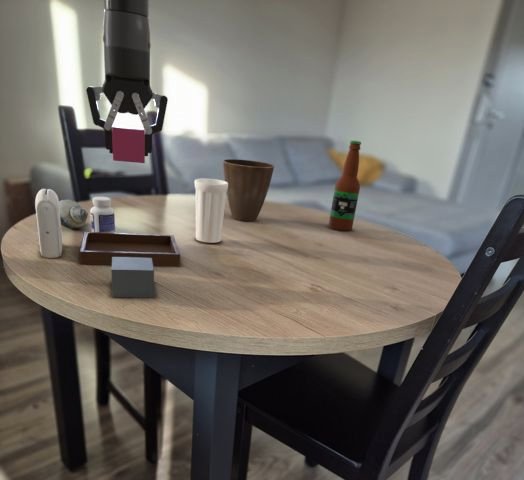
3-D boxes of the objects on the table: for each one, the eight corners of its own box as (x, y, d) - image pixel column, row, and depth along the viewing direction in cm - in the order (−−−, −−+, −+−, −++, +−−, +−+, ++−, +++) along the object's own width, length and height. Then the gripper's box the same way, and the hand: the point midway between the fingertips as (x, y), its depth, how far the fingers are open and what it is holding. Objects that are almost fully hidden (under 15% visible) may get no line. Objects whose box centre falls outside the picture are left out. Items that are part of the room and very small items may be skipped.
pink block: (113, 160, 86) (112, 127, 83) (114, 156, 91) (113, 124, 88) (144, 163, 87) (144, 130, 85) (144, 159, 92) (143, 127, 89)
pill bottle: (119, 236, 116) (118, 198, 112) (108, 241, 111) (106, 202, 107) (99, 232, 117) (97, 194, 112) (87, 237, 112) (85, 198, 108)
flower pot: (209, 214, 147) (212, 158, 139) (247, 211, 156) (252, 159, 149) (239, 226, 137) (244, 167, 130) (278, 222, 146) (284, 167, 139)
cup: (190, 235, 123) (193, 177, 117) (222, 237, 125) (226, 179, 118) (193, 244, 116) (196, 183, 110) (226, 246, 118) (231, 185, 111)
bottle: (324, 228, 147) (339, 139, 135) (332, 224, 153) (347, 139, 141) (347, 233, 144) (364, 143, 133) (354, 228, 150) (371, 142, 139)
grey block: (112, 297, 83) (111, 269, 81) (112, 282, 89) (112, 256, 86) (153, 297, 85) (154, 270, 82) (151, 283, 91) (151, 257, 88)
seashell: (79, 226, 125) (83, 239, 115) (49, 214, 121) (51, 225, 111) (88, 204, 123) (93, 214, 114) (58, 190, 119) (61, 200, 110)
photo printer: (62, 258, 98) (57, 195, 92) (39, 258, 96) (32, 194, 90) (63, 243, 106) (58, 185, 100) (41, 243, 104) (35, 184, 99)
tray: (80, 264, 96) (79, 251, 94) (85, 243, 108) (84, 231, 107) (179, 266, 101) (180, 254, 100) (173, 246, 113) (173, 235, 112)
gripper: (169, 54, 86) (167, 155, 94) (83, 42, 82) (89, 148, 90) (172, 52, 79) (169, 160, 87) (79, 38, 76) (85, 153, 83)
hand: (128, 153), depth 88 cm, fingers closed on pink block, 5 cm apart
